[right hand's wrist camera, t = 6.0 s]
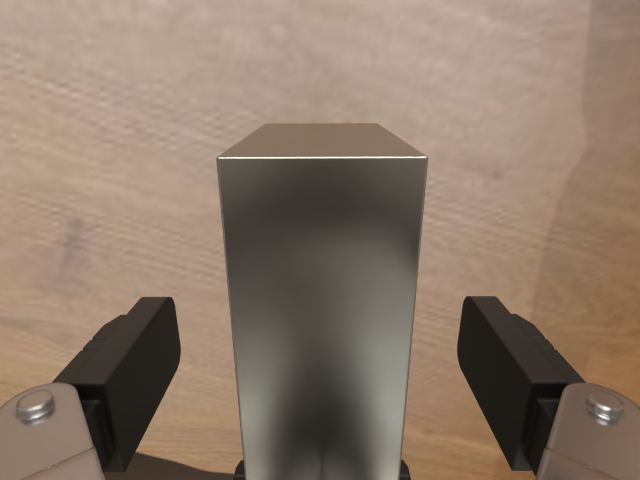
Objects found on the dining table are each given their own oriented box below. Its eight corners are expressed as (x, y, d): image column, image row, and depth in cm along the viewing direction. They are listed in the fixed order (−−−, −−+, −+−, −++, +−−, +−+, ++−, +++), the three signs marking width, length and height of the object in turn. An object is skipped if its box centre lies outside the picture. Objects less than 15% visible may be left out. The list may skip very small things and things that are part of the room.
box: (264, 123, 23) (215, 156, 12) (378, 123, 23) (428, 156, 12) (280, 451, 31) (259, 642, 20) (363, 451, 31) (385, 642, 20)
